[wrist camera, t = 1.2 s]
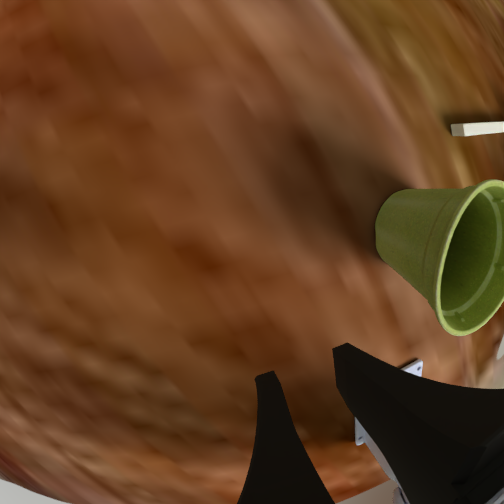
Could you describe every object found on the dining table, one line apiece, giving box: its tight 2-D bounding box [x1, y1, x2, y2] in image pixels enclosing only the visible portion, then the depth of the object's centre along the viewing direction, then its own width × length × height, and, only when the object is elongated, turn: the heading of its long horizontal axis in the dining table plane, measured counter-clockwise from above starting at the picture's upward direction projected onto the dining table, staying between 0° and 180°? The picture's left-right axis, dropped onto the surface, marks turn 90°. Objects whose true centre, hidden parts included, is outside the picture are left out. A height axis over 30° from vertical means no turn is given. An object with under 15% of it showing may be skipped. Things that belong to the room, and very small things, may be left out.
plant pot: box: [375, 179, 504, 336], centre depth 18 cm, size 9×9×9 cm
